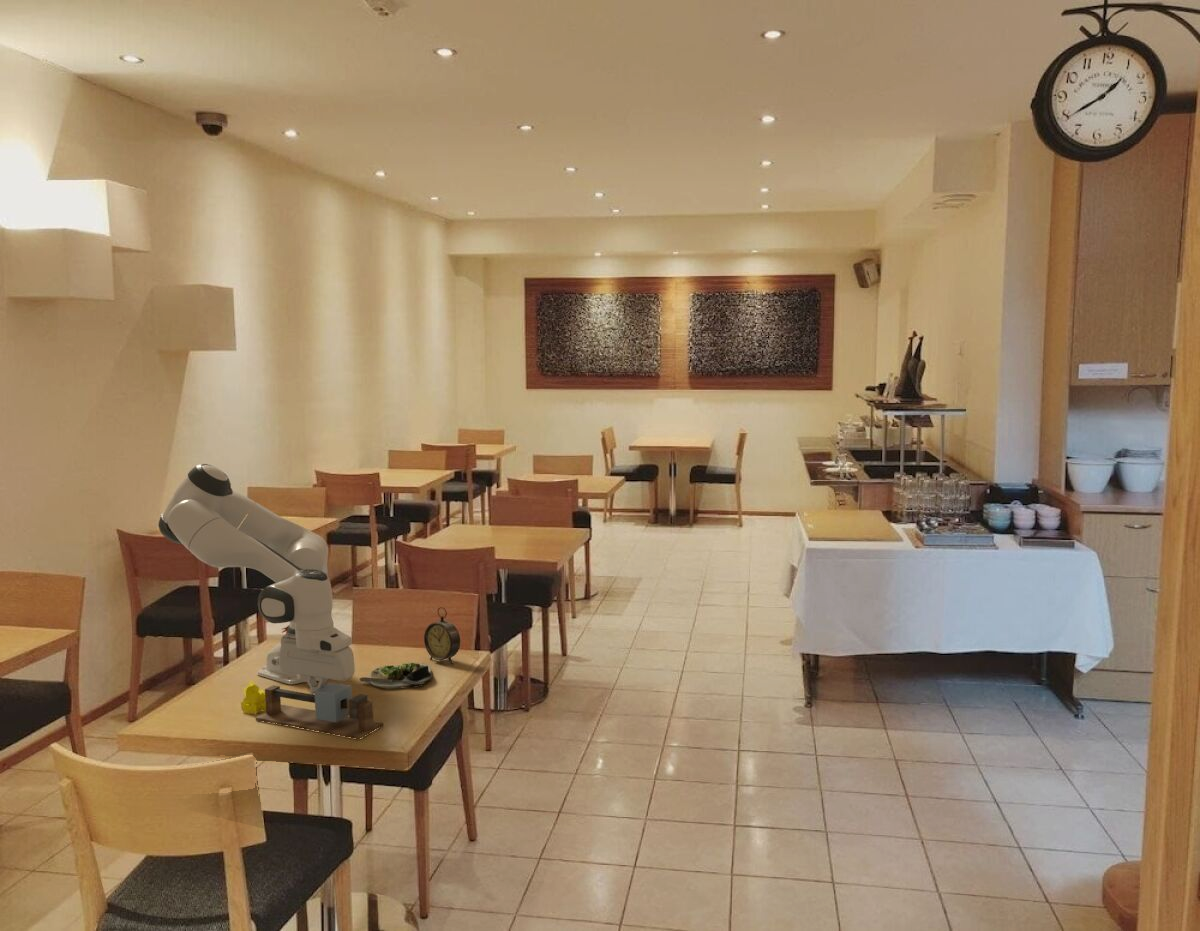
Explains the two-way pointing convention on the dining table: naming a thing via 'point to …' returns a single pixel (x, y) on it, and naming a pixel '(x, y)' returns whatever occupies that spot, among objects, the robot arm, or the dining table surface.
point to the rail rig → (349, 726)
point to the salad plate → (399, 676)
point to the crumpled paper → (253, 699)
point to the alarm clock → (442, 639)
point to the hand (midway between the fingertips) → (317, 693)
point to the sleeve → (332, 701)
